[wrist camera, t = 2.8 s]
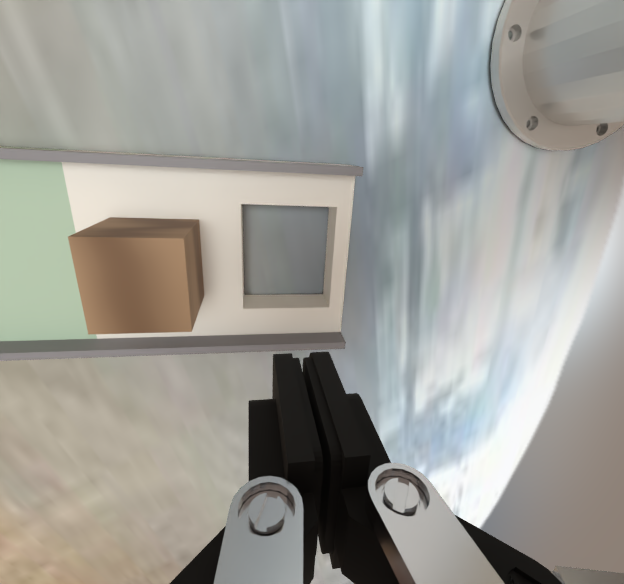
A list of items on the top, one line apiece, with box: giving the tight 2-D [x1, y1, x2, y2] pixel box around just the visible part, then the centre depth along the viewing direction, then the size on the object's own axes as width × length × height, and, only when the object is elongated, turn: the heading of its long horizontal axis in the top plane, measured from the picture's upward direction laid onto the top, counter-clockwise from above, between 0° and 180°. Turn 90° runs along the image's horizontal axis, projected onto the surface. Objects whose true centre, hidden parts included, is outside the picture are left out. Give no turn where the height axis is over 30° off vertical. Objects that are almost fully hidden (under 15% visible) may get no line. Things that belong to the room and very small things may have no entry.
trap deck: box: [0, 146, 363, 361], centre depth 21 cm, size 30×12×4 cm, turn 87°
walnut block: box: [68, 217, 204, 335], centre depth 19 cm, size 5×5×5 cm
